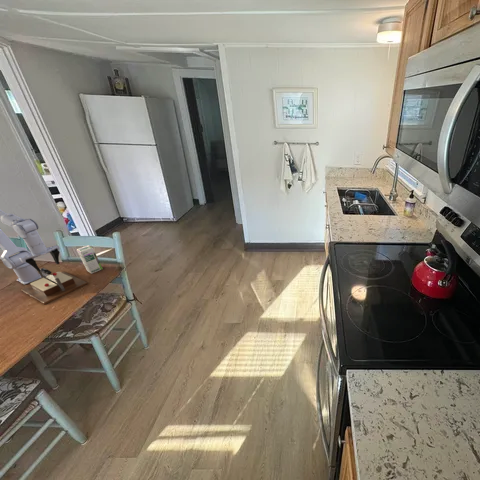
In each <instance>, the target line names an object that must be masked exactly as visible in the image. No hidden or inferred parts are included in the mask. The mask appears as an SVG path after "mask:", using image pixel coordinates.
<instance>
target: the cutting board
mask: <svg viewBox="0 0 480 480" xmlns="http://www.w3.org/2000/svg"><path fill="white" fill-rule="evenodd" d="M60 272H61V273H63V274H66V275H68V276H70V277H72V278H73V280H74V282H75V283H74V284H72V285H70V286H68V287H65V288H64V287H63V285H62V283H61V281H60V280H59V278H55V280H56V282H57V284H58V285H59V289H60V290H59V291H57V292H55V293H52V294H50V295H48V296H45V295H44V294H42V293H40V292H38V291H36V290H35V289H33V288H32V286H31V285H28V286H26V287H23V288H21V289H20V291H21V292H22V293H24V294H26V295H28V296H29V297H31V298H33V299H35V301H36V300H37V301H38V302H40V303H41V304H43V305H47V304H48V303H51V302H53V301H55V300H57V299H59V298H62V297H63V296H65V295H68V294H70V293H71V292H74V291H76V290H79V289H80V288H82V287H84V286H86V285H88V284H89V283H88V282H87V281H85V280H83V279H82V278H81V279H80V278H79V277H77V276H75V275H73V274H70V273H68V272H66V271H64V270H63V271H60ZM38 273H39V274H40V276H41V277H42V278H45V279H47V278H46V277H44V276H43V275H42V273H41V271H40V272H38ZM42 278H41V279H42ZM47 280H48V279H47Z"/></svg>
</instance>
